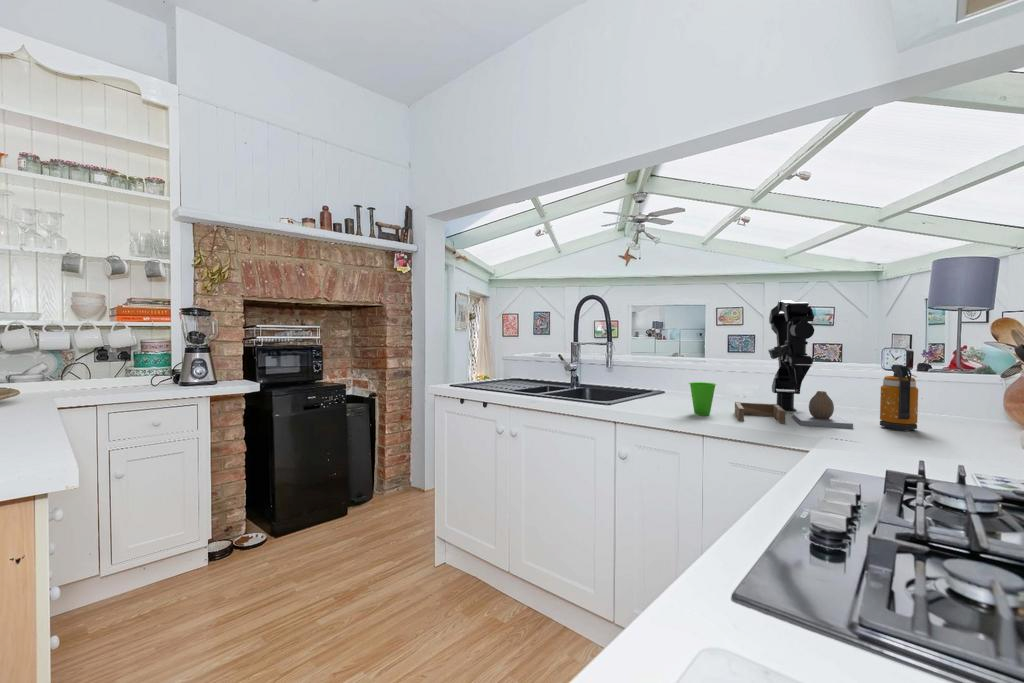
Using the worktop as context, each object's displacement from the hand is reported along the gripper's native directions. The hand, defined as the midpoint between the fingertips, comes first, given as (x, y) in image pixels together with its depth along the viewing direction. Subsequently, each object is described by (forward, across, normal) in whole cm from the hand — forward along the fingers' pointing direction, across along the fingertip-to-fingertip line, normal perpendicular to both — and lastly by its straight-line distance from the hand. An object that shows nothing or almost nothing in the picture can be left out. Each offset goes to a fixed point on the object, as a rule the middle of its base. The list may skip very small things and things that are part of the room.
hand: (795, 382), depth 166 cm
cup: (+12, +8, -30) cm, 34 cm away
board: (+12, +10, +6) cm, 16 cm away
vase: (+10, +10, +6) cm, 15 cm away
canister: (+12, +13, +25) cm, 31 cm away
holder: (+12, +8, -12) cm, 19 cm away
